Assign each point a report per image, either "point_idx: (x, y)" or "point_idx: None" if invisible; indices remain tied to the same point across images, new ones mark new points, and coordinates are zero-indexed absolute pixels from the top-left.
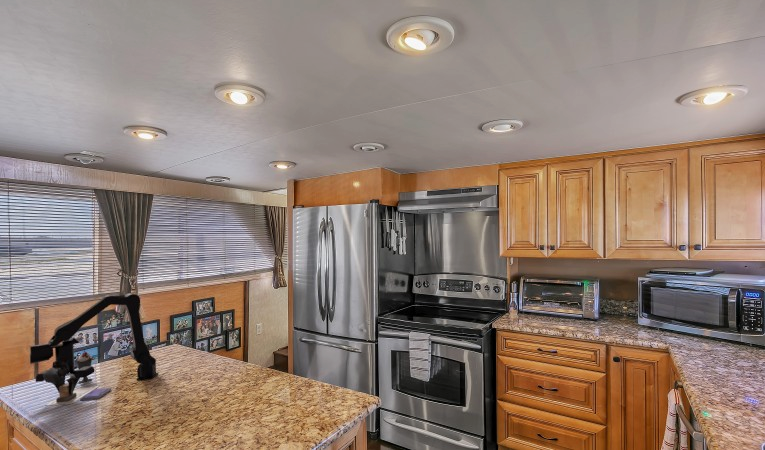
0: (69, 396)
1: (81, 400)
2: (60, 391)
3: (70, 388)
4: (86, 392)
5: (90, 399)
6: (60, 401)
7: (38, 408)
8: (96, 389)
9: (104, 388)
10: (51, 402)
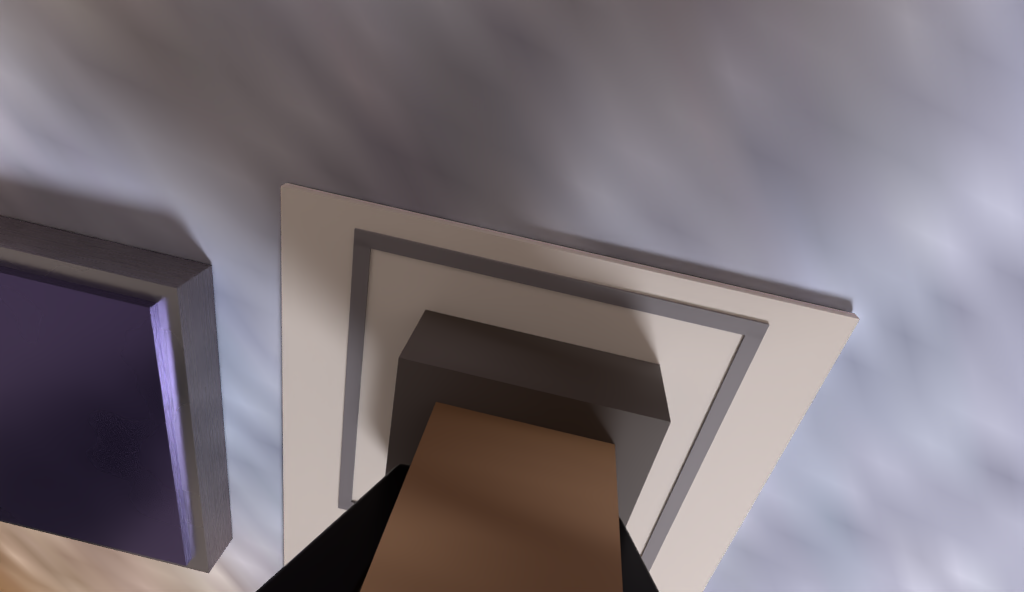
0: (405, 407)
1: (189, 261)
2: (587, 571)
3: (298, 580)
4: None
5: (20, 224)
6: (579, 354)
7: (979, 235)
8: (135, 544)
9: (21, 524)
10: (769, 418)
